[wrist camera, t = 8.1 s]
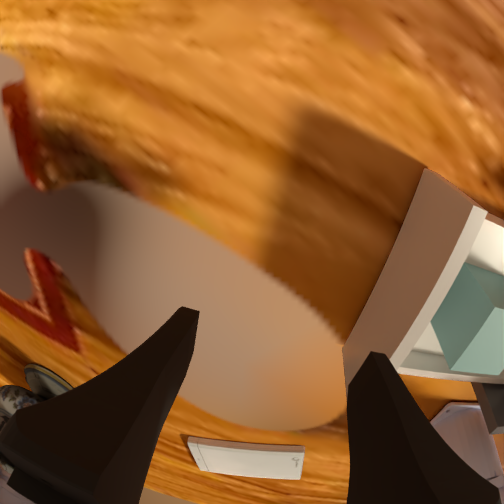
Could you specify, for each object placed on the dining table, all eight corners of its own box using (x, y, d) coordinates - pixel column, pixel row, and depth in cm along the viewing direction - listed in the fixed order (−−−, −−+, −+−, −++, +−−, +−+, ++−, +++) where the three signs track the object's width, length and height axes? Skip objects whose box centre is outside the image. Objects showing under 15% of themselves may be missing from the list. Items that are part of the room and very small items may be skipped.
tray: (501, 372, 21) (522, 419, 16) (342, 348, 21) (347, 415, 16) (580, 249, 15) (619, 288, 10) (424, 167, 15) (473, 205, 10)
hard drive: (304, 453, 28) (186, 444, 30) (300, 480, 32) (200, 472, 33) (305, 440, 29) (189, 432, 31) (301, 469, 33) (202, 462, 35)
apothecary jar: (11, 340, 28) (-69, 451, 13) (96, 390, 29) (27, 528, 13) (27, 392, 34) (-29, 484, 19) (98, 432, 35) (51, 538, 19)
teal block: (475, 329, 18) (498, 375, 14) (429, 319, 18) (449, 370, 15) (508, 277, 16) (540, 319, 12) (462, 261, 16) (494, 306, 12)
